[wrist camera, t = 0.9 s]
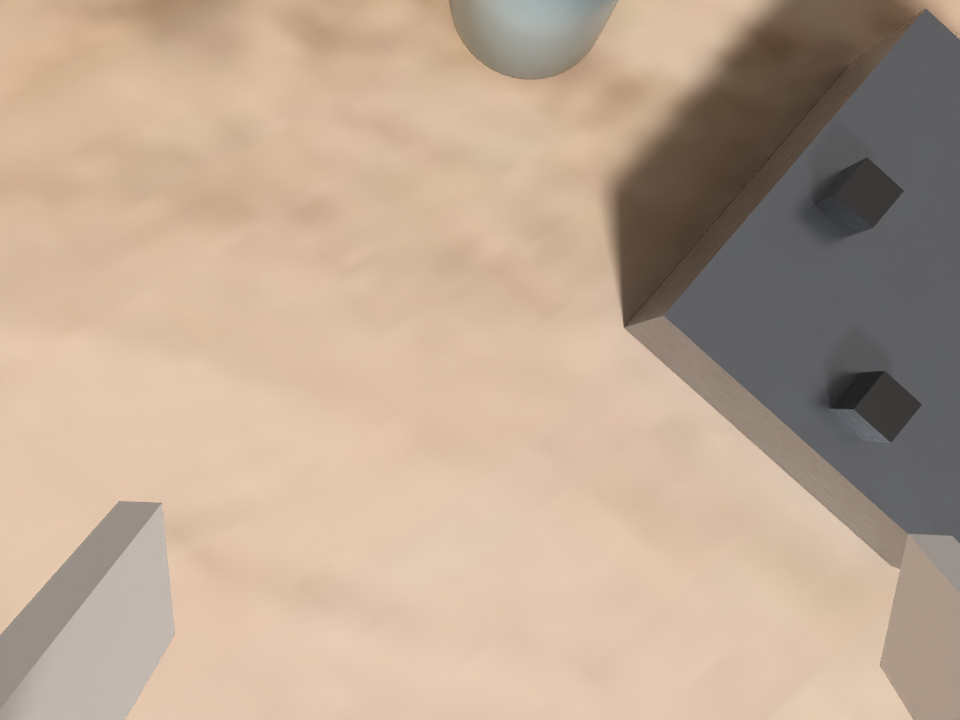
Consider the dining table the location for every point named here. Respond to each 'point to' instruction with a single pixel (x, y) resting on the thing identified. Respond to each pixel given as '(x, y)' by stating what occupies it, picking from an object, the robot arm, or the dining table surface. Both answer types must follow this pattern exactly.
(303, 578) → the dining table surface
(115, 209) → the dining table surface
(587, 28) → the white-capped plastic bottle
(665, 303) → the block
